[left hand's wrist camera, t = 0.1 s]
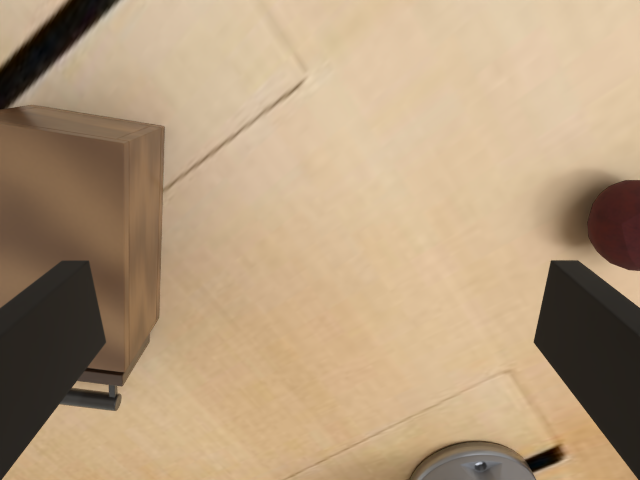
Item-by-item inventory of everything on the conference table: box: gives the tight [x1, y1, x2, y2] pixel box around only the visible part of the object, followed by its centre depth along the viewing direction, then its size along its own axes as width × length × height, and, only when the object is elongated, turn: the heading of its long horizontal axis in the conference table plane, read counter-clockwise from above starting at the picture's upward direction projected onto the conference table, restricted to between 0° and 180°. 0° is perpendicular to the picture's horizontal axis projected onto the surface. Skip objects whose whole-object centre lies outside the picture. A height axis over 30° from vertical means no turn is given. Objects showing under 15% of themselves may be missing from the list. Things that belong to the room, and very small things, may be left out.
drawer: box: [60, 333, 150, 411], centre depth 40 cm, size 24×10×7 cm, turn 171°
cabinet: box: [0, 105, 165, 372], centre depth 38 cm, size 20×11×9 cm, turn 171°
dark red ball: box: [588, 180, 640, 271], centre depth 38 cm, size 7×8×7 cm
